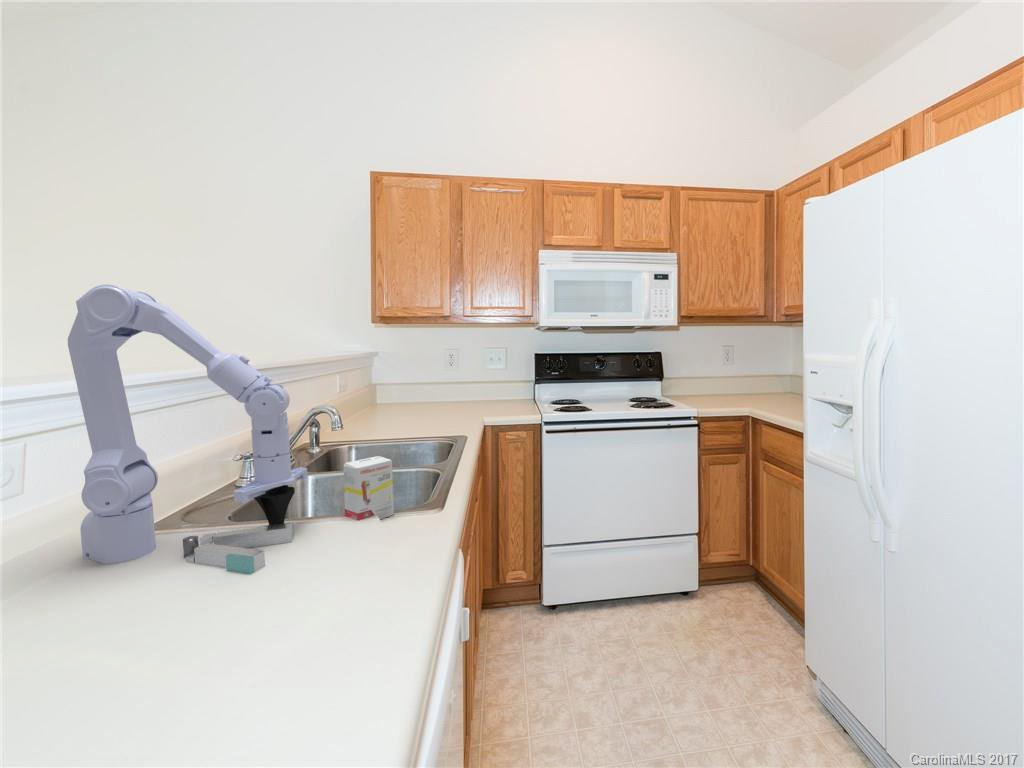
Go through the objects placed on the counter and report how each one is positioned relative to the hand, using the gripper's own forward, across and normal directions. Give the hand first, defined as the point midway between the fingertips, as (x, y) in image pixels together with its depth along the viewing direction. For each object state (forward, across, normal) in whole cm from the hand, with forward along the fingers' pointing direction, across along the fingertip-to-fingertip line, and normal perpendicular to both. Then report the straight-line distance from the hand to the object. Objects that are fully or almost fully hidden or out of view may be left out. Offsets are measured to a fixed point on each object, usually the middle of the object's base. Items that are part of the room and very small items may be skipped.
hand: (276, 529), depth 79 cm
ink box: (+3, +14, -9) cm, 17 cm away
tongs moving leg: (+1, -4, +2) cm, 5 cm away
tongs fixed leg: (+1, -10, +1) cm, 11 cm away
